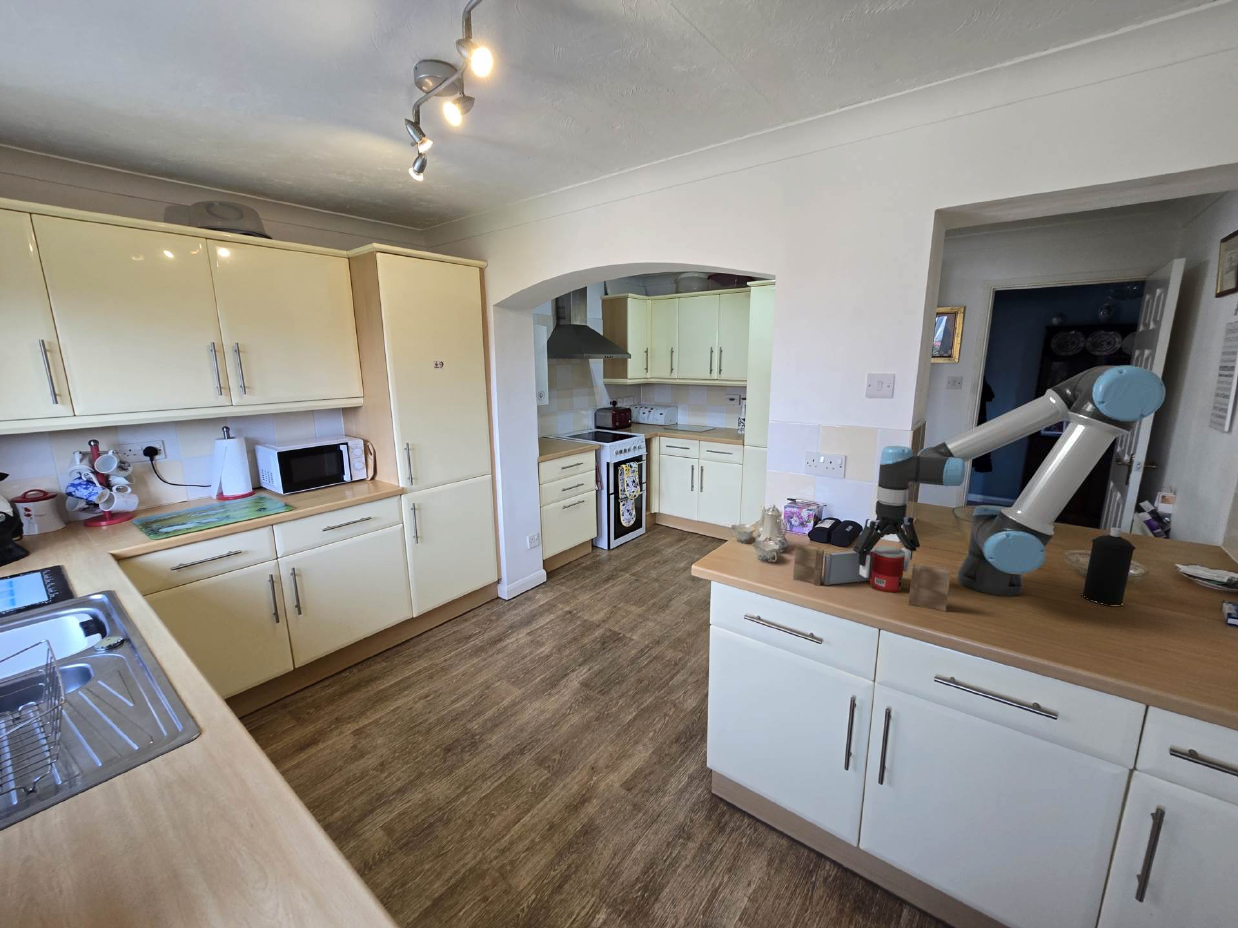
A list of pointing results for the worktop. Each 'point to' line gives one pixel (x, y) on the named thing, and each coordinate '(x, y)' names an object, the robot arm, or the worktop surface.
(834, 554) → the door leaf
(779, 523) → the chinaware
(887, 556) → the canned food
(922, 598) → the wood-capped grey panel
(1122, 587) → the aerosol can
